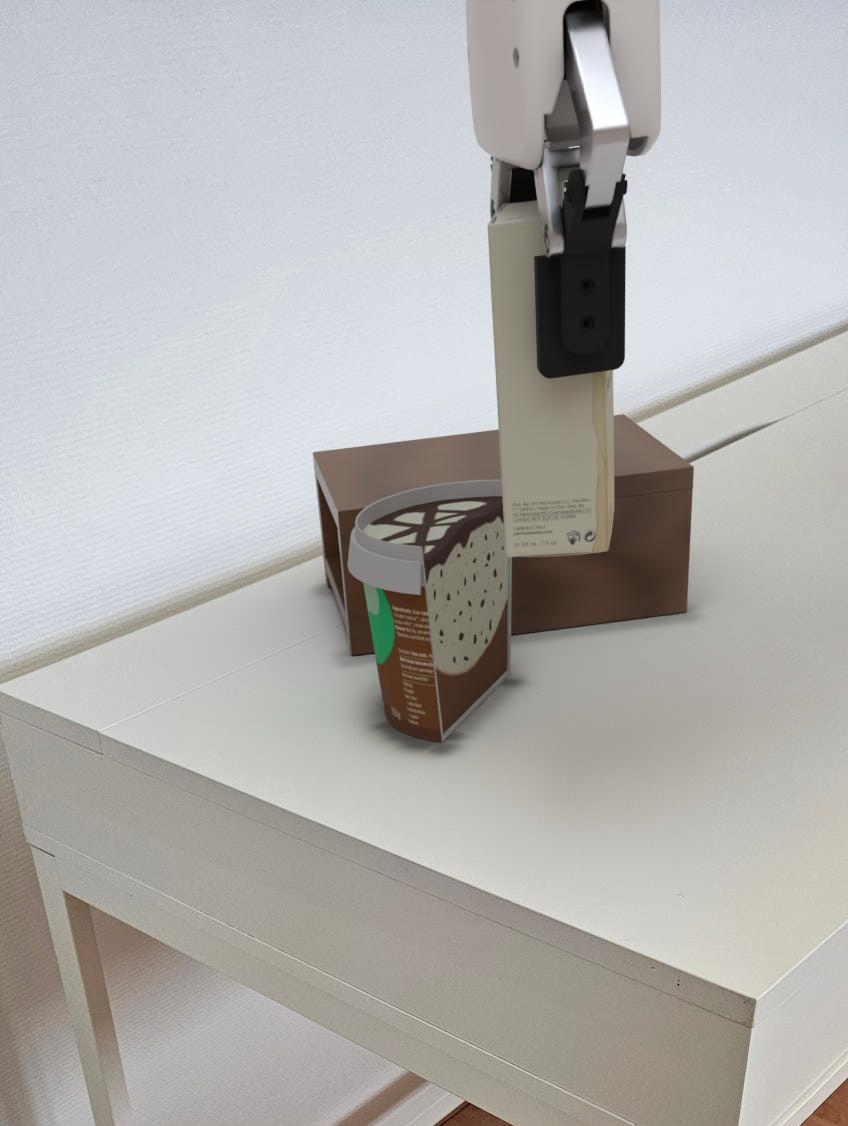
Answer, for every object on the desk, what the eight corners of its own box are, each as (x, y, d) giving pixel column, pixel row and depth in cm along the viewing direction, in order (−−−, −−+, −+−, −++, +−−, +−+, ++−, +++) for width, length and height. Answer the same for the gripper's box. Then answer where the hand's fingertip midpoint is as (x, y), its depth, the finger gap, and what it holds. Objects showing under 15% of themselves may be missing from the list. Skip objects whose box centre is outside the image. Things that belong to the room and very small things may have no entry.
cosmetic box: (609, 557, 57) (610, 211, 49) (499, 561, 58) (484, 223, 50) (615, 508, 62) (616, 187, 54) (513, 513, 62) (501, 198, 55)
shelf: (621, 544, 94) (623, 413, 89) (687, 612, 83) (694, 466, 78) (325, 582, 93) (312, 452, 88) (351, 656, 82) (337, 511, 77)
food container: (420, 654, 81) (408, 472, 75) (520, 663, 78) (516, 476, 73) (320, 740, 72) (298, 543, 66) (429, 754, 70) (416, 550, 64)
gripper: (754, -320, 38) (722, 385, 49) (588, -226, 52) (591, 306, 63) (482, -289, 38) (509, 415, 48) (389, -202, 52) (425, 329, 62)
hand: (555, 349), depth 55 cm, fingers closed on cosmetic box, 7 cm apart
